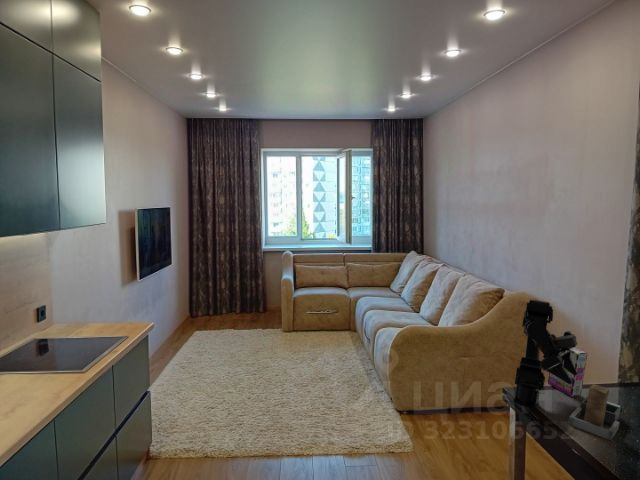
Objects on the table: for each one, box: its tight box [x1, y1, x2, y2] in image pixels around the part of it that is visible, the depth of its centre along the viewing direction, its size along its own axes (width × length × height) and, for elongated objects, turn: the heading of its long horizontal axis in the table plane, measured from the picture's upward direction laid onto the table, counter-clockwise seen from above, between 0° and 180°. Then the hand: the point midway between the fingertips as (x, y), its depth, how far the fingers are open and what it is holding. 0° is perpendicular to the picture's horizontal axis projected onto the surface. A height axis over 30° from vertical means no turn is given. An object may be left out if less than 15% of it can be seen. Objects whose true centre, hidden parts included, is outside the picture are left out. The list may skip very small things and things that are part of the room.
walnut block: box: [583, 383, 610, 428], centre depth 147 cm, size 4×4×13 cm
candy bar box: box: [547, 347, 588, 398], centre depth 173 cm, size 11×5×16 cm, turn 21°
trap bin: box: [579, 395, 621, 427], centre depth 155 cm, size 10×7×4 cm
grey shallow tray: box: [567, 406, 620, 441], centre depth 148 cm, size 12×10×2 cm
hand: (573, 379), depth 151 cm, fingers open, 9 cm apart
